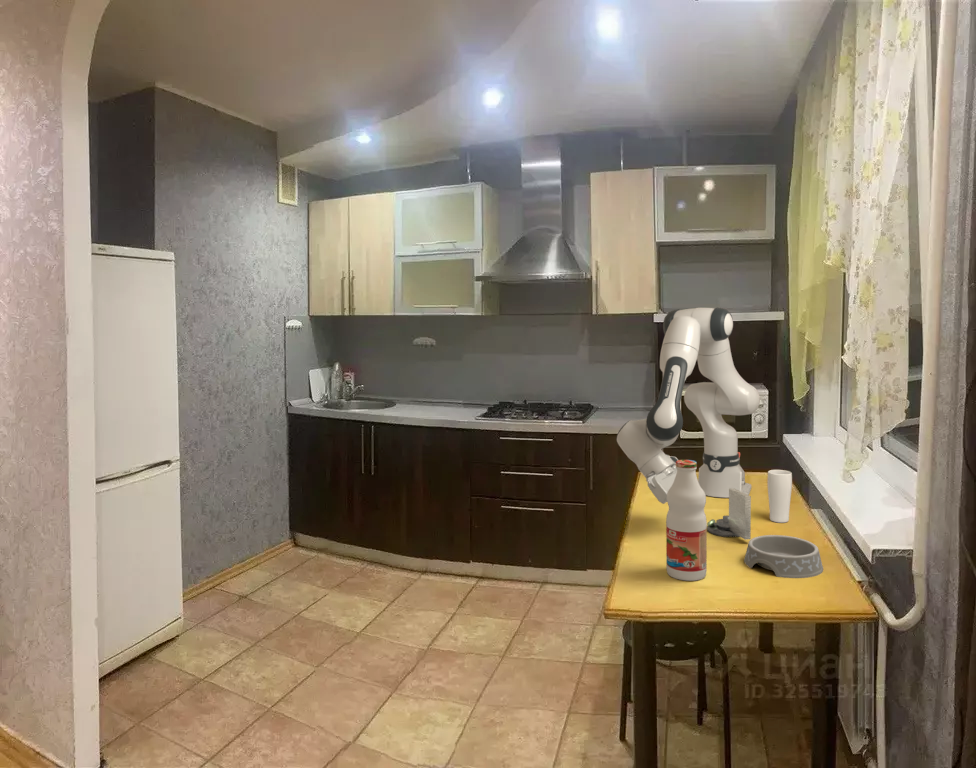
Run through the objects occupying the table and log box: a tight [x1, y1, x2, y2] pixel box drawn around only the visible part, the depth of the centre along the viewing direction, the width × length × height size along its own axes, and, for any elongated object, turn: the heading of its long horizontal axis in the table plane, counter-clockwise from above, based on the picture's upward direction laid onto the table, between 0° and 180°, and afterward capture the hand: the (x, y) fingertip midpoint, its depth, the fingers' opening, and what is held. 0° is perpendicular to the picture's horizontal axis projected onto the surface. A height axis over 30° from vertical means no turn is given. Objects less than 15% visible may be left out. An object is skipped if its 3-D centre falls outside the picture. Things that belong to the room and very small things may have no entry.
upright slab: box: [715, 488, 752, 541], centre depth 191 cm, size 14×6×12 cm, turn 8°
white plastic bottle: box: [665, 459, 708, 582], centre depth 163 cm, size 9×9×28 cm
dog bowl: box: [743, 534, 824, 579], centre depth 169 cm, size 17×18×5 cm
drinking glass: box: [767, 469, 793, 524], centre depth 203 cm, size 7×7×15 cm
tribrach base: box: [707, 519, 741, 538], centre depth 196 cm, size 11×11×2 cm
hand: (690, 506), depth 193 cm, fingers closed
